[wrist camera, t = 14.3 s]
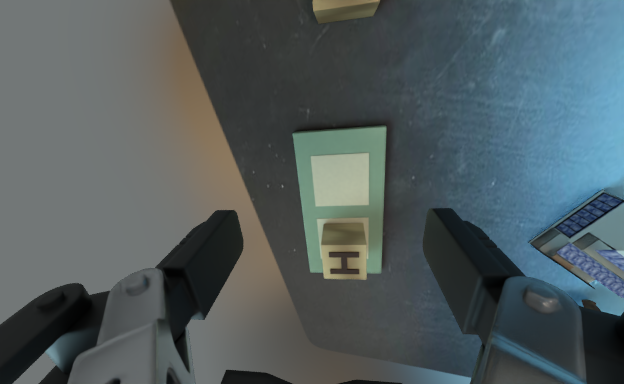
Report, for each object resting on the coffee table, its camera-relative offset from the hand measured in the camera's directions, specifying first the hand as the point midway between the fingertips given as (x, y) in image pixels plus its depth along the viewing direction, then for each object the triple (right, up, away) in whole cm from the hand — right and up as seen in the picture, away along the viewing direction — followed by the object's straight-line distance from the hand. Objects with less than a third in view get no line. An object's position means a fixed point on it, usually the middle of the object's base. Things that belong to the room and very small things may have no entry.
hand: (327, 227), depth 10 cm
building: (+33, -5, +15) cm, 37 cm away
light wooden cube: (+3, -4, +18) cm, 18 cm away
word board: (+3, 0, +17) cm, 17 cm away
